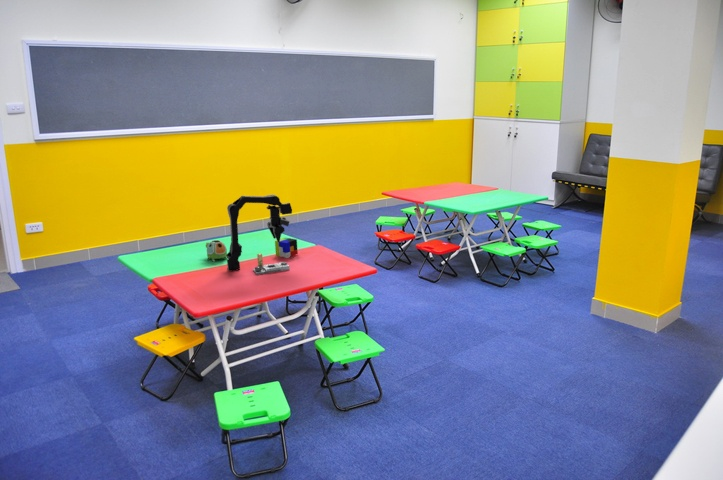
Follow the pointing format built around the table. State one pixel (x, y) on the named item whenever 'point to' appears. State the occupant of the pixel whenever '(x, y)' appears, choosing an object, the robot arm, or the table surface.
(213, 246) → the turtle holder
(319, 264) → the table surface
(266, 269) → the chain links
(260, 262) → the brass pin
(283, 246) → the puzzle toy
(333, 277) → the table surface
